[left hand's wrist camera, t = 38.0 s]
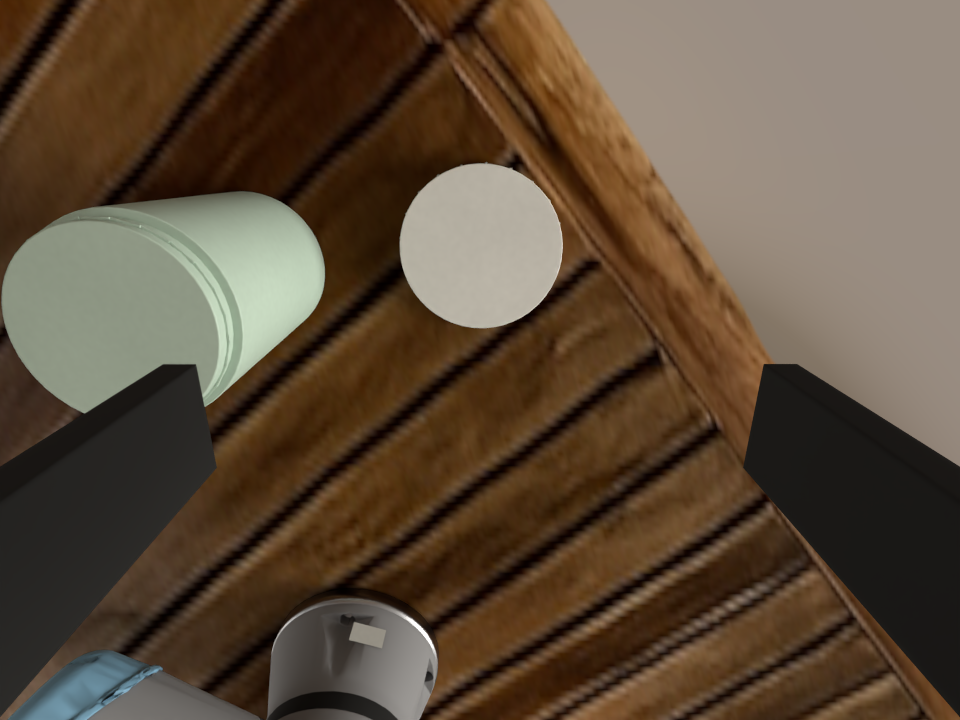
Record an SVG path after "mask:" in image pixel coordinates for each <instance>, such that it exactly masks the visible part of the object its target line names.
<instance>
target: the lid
mask: <svg viewBox="0 0 960 720" xmlns="http://www.w3.org/2000/svg"><path fill="white" fill-rule="evenodd" d="M533 182H534V181H532V180H529V179H528V178H526V177H525V176H523V175H522V174H520V173H518V172H516V171H514V170H512V168H510V169H509V168H506V167H503V166H499V165H493V164H487V162H486V163H485V164H481V163H478V164H468V165H464V166H463V165H462V164H461V165H460V166H459V167H456V168H453V169H451V170H448V171H446V172H444V173H442V174H441V175H440V174H438V175H437V177H436V178H434V179H433V180H432V181H430V182H429V183H428V184H427V185H426V186H425V187H424V188H423V189H422V190H421V191H419V192H418V195H417V196H416V197H415V199H414V200H413V201H412V203H411V205H410V207H409V209H408V211H407V212H406V213H405V214H406V216H405V218H404V221H403V225H402V229H401V235H400V257H401V263H402V267H403V270H404V274H405V276H406V278H407V281H408V283H409V285H410V287H411V288H412V290H413V292H414V293H415V294H416V296H417V297H418V298H419V300H420V301H421V302H422V303H423V304H424V305H425V306H426V307H427V308H428V309H430V310H431V311H432V312H434V313H435V314H436V315H438V316H440V317H441V318H443V319H445V320H447V321H449V322H452V323H454V324H458V325H461V326H466V327H472V328H490V327H496V326H501V325H505V324H507V323H510V322H513V321H515V320H517V319H519V318H521V317H523V316H524V315H526V314H527V313H529V312H530V311H531V310H532V309H534V308H535V307H536V306H537V305H538V304H539V303H540V302H541V301H542V300H543V298H544V297H545V296H546V295H547V293H548V292H549V290H550V289H551V287H552V285H553V283H554V281H555V279H556V276H557V274H558V271H559V268H560V263H561V259H562V249H563V247H562V234H561V228H560V223H559V221H558V218H557V215H556V213H555V210H554V208H553V206H552V204H551V203H550V200H549V199H548V198H547V197H546V195H545V194H544V193H543V192H542V191H541V190H540V188H539V187H538V186H536V185H535V184H534V183H533Z"/></svg>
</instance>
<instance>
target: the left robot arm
mask: <svg viewBox="0 0 960 720" xmlns="http://www.w3.org/2000/svg"><path fill="white" fill-rule="evenodd" d="M216 468H217V467H216V462H215V456H214V451H213V446H212V441H211V436H210V431H209V426H208V421H207V416H206V411H205V406H204V401H203V396H202V391H201V386H200V381H199V376H198V371H197V366H196V364H162V365H161V366H159V367H158V368H156V369H155V370H153V371H151V372H150V373H148V374H147V375H145V376H143V377H142V378H140V379H139V380H137V381H135V382H134V383H132V384H131V385H129V386H128V387H126V388H124V389H123V390H121V391H120V392H118V393H116V394H115V395H113V396H112V397H110V398H108V399H107V400H105V401H104V402H102V403H101V404H99V405H97V406H96V407H94V408H93V409H91V410H89V411H88V412H86V413H85V414H83V415H82V416H80V417H78V418H77V419H75V420H74V421H72V422H70V423H69V424H67V425H66V426H64V427H62V428H61V429H59V430H58V431H56V432H55V433H53V434H51V435H50V436H48V437H47V438H45V439H43V440H42V441H40V442H39V443H37V444H35V445H34V446H32V447H31V448H29V449H28V450H26V451H24V452H23V453H21V454H20V455H18V456H16V457H15V458H13V459H12V460H10V461H8V462H7V463H5V464H4V465H2V466H1V467H0V717H1V715H2V714H3V713H4V712H5V711H6V710H7V708H8V707H9V706H10V705H11V704H12V703H13V702H14V700H15V699H16V698H17V697H18V696H19V695H20V694H21V692H22V691H23V690H24V689H25V688H26V687H27V685H28V684H29V683H30V682H31V681H32V680H33V679H34V677H35V676H36V675H37V674H38V673H39V672H40V670H41V669H42V668H43V667H44V666H45V665H46V664H47V662H48V661H49V660H50V659H51V658H52V657H53V656H54V654H55V653H56V652H57V651H58V650H59V649H60V647H61V646H62V645H63V644H64V643H65V642H66V641H67V639H68V638H69V637H70V636H71V635H72V634H73V632H74V631H75V630H76V629H77V628H78V627H79V626H80V624H81V623H82V622H83V621H84V620H85V619H86V618H87V616H88V615H89V614H90V613H91V612H92V611H93V609H94V608H95V607H96V606H97V605H98V604H99V603H100V601H101V600H102V599H103V598H104V597H105V596H106V595H107V593H108V592H109V591H110V590H111V589H112V588H113V586H114V585H115V584H116V583H117V582H118V581H119V580H120V578H121V577H122V576H123V575H124V574H125V573H126V571H127V570H128V569H129V568H130V567H131V566H132V565H133V563H134V562H135V561H136V560H137V559H138V558H139V557H140V555H141V554H142V553H143V552H144V551H145V550H146V548H147V547H148V546H149V545H150V544H151V543H152V542H153V540H154V539H155V538H156V537H157V536H158V535H159V533H160V532H161V531H162V530H163V529H164V528H165V527H166V525H167V524H168V523H169V522H170V521H171V520H172V519H173V517H174V516H175V515H176V514H177V513H178V512H179V510H180V509H181V508H182V507H183V506H184V505H185V504H186V502H187V501H188V500H189V499H190V498H191V497H192V495H193V494H194V493H195V492H196V491H197V490H198V489H199V487H200V486H201V485H202V484H203V483H204V482H205V481H206V479H207V478H208V477H209V476H210V475H211V474H212V472H213V471H214V470H215V469H216ZM743 468H744V469H745V470H746V471H747V472H748V474H749V475H750V476H751V477H752V478H753V479H754V481H755V482H756V483H757V484H758V485H759V486H760V487H761V489H762V490H763V491H764V492H765V493H766V494H767V495H768V497H769V498H770V499H771V500H772V501H773V502H774V504H775V505H776V506H777V507H778V508H779V509H780V510H781V512H782V513H783V514H784V515H785V516H786V517H787V519H788V520H789V521H790V522H791V523H792V524H793V525H794V527H795V528H796V529H797V530H798V531H799V532H800V533H801V535H802V536H803V537H804V538H805V539H806V540H807V542H808V543H809V544H810V545H811V546H812V547H813V548H814V550H815V551H816V552H817V553H818V554H819V555H820V557H821V558H822V559H823V560H824V561H825V562H826V563H827V565H828V566H829V567H830V568H831V569H832V570H833V571H834V573H835V574H836V575H837V576H838V577H839V578H840V580H841V581H842V582H843V583H844V584H845V585H846V586H847V588H848V589H849V590H850V591H851V592H852V593H853V595H854V596H855V597H856V598H857V599H858V600H859V601H860V603H861V604H862V605H863V606H864V607H865V608H866V609H867V611H868V612H869V613H870V614H871V615H872V616H873V618H874V619H875V620H876V621H877V622H878V623H879V624H880V626H881V627H882V628H883V629H884V630H885V631H886V633H887V634H888V635H889V636H890V637H891V638H892V639H893V641H894V642H895V643H896V644H897V645H898V646H899V647H900V649H901V650H902V651H903V652H904V653H905V654H906V656H907V657H908V658H909V659H910V660H911V661H912V662H913V664H914V665H915V666H916V667H917V668H918V669H919V670H920V672H921V673H922V674H923V675H924V676H925V677H926V679H927V680H928V681H929V682H930V683H931V684H932V685H933V687H934V688H935V689H936V690H937V691H938V692H939V694H940V695H941V696H942V697H943V698H944V699H945V700H946V702H947V703H948V704H949V705H950V706H951V707H952V708H953V710H954V711H955V712H956V713H957V714H958V715H959V717H960V467H959V466H958V465H956V464H955V463H953V462H951V461H950V460H948V459H947V458H945V457H944V456H942V455H940V454H939V453H937V452H936V451H934V450H932V449H931V448H929V447H928V446H926V445H925V444H923V443H921V442H920V441H918V440H917V439H915V438H913V437H912V436H910V435H909V434H907V433H905V432H904V431H902V430H901V429H899V428H898V427H896V426H894V425H893V424H891V423H890V422H888V421H886V420H885V419H883V418H882V417H880V416H878V415H877V414H875V413H874V412H872V411H871V410H869V409H867V408H866V407H864V406H863V405H861V404H859V403H858V402H856V401H855V400H853V399H851V398H850V397H848V396H847V395H845V394H843V393H842V392H840V391H839V390H837V389H836V388H834V387H832V386H831V385H829V384H828V383H826V382H825V381H823V380H821V379H820V378H818V377H817V376H815V375H813V374H812V373H810V372H809V371H807V370H805V369H804V368H802V367H801V366H799V365H797V364H764V366H763V371H762V376H761V381H760V386H759V391H758V396H757V401H756V406H755V411H754V416H753V421H752V426H751V431H750V436H749V441H748V446H747V451H746V456H745V462H744V467H743ZM438 657H439V650H438V644H437V640H436V637H435V634H434V632H433V630H432V629H431V627H430V625H429V624H428V623H427V621H426V620H425V619H424V618H423V617H422V616H421V615H420V614H419V613H418V612H417V611H416V610H415V609H413V608H412V607H410V606H409V605H408V604H406V603H404V602H402V601H401V600H398V599H396V598H394V597H392V596H389V595H386V594H383V593H380V592H376V591H371V590H364V589H340V590H333V591H328V592H325V593H321V594H318V595H316V596H313V597H311V598H309V599H307V600H305V601H304V602H302V603H301V604H299V605H298V606H297V607H295V608H294V609H293V610H292V611H291V612H290V614H289V615H288V616H287V617H286V619H285V620H284V622H283V624H282V626H281V628H280V630H279V633H278V635H277V637H276V640H275V642H274V645H273V648H272V655H271V666H270V668H271V671H270V683H269V700H268V716H267V720H419V719H420V717H421V715H422V712H423V710H424V708H425V706H426V703H427V701H428V699H429V697H430V695H431V692H432V690H433V687H434V684H435V681H436V677H437V670H438ZM162 670H163V668H162V667H160V666H158V665H153V666H150V665H148V664H145V663H143V662H140V661H137V660H135V659H132V658H130V657H127V656H125V655H122V654H119V653H117V652H115V651H111V650H97V651H92V652H89V653H86V654H84V655H82V656H80V657H78V658H76V659H74V660H73V661H72V662H70V663H69V664H67V665H66V666H65V667H63V668H62V669H61V670H60V671H59V672H57V673H56V674H55V675H54V676H53V677H52V678H51V679H49V680H48V681H47V682H46V683H45V684H44V685H43V686H42V687H41V688H39V689H38V690H37V691H36V692H35V693H34V694H33V695H32V696H31V697H30V698H29V699H28V700H27V701H26V702H25V703H24V704H23V705H22V706H21V707H20V708H19V709H18V710H17V711H16V712H15V713H14V714H13V715H12V716H11V717H10V718H9V719H8V720H263V719H261V718H259V717H258V716H256V715H254V714H251V713H249V712H247V711H245V710H243V709H241V708H239V707H237V706H235V705H232V704H230V703H228V702H226V701H224V700H222V699H220V698H218V697H215V696H213V695H211V694H209V693H207V692H205V691H203V690H201V689H199V688H196V687H194V686H192V685H190V684H188V683H186V682H184V681H182V680H179V679H177V678H175V677H174V676H172V675H170V674H168V673H166V672H164V671H162Z"/></svg>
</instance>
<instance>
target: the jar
mask: <svg viewBox="0 0 960 720" xmlns="http://www.w3.org/2000/svg"><path fill="white" fill-rule="evenodd" d="M324 281H325V266H324V260H323V256H322V252H321V249H320V246H319V244H318V242H317V239H316V238H315V236H314V234H313V232H312V231H311V229H310V228H309V227H308V225H307V224H306V223H305V222H304V220H303V219H302V218H301V217H300V216H299V215H298V214H297V213H295V212H294V211H293V210H292V209H291V208H289V207H288V206H286V205H285V204H283V203H282V202H280V201H278V200H276V199H274V198H272V197H269V196H266V195H263V194H259V193H254V192H245V191H239V192H227V193H218V194H209V195H200V196H191V197H182V198H173V199H164V200H155V201H146V202H137V203H127V204H118V205H109V206H100V207H92V208H87V209H82V210H77V211H75V212H72V213H69V214H67V215H64V216H62V217H61V218H59V219H57V220H55V221H54V222H52V223H51V224H49V225H48V226H46V227H45V228H44V229H42V230H41V231H39V232H38V233H36V234H35V235H33V236H32V237H31V238H29V239H27V240H26V242H25V243H24V244H23V245H22V246H21V247H20V248H19V250H18V251H17V252H16V253H15V255H14V256H13V258H12V260H11V262H10V263H9V265H8V268H7V271H6V273H5V276H4V281H3V286H2V299H1V303H2V312H3V318H4V322H5V326H6V330H7V332H8V335H9V338H10V340H11V343H12V345H13V346H14V348H15V350H16V352H17V354H18V356H19V357H20V359H21V360H22V362H23V363H24V365H25V366H26V368H27V369H28V370H29V371H30V372H31V373H32V375H33V376H34V377H35V378H36V379H37V380H38V381H39V382H40V383H41V384H42V385H43V386H44V387H45V388H46V389H47V390H48V391H50V392H51V393H52V394H53V395H55V396H56V397H57V398H59V399H60V400H62V401H63V402H65V403H66V404H68V405H69V406H71V407H73V408H75V409H77V410H79V411H81V412H83V413H86V412H88V411H89V410H91V409H93V408H94V407H96V406H97V405H99V404H101V403H102V402H104V401H105V400H107V399H108V398H110V397H112V396H113V395H115V394H116V393H118V392H120V391H121V390H123V389H124V388H126V387H128V386H129V385H131V384H132V383H134V382H135V381H137V380H139V379H140V378H142V377H143V376H145V375H147V374H148V373H150V372H151V371H153V370H155V369H156V368H158V367H159V366H161V365H162V364H196V366H197V371H198V376H199V381H200V386H201V391H202V396H203V401H204V406H207V405H208V404H210V403H211V402H213V401H214V400H215V399H217V398H218V397H219V396H220V395H221V394H222V393H223V392H224V391H226V390H227V389H228V388H229V387H230V386H231V385H232V384H233V383H235V382H236V381H237V380H238V379H239V378H240V377H241V376H242V375H244V374H245V373H246V372H247V371H248V370H249V369H250V368H251V367H253V366H254V365H255V364H256V363H257V362H258V361H259V360H260V359H262V358H263V357H264V356H265V355H266V354H267V353H268V352H269V351H271V350H272V349H273V348H274V347H275V346H276V345H277V344H279V343H280V342H281V341H282V340H283V339H284V338H285V337H286V336H288V335H289V334H290V333H291V332H292V331H293V330H294V329H295V328H297V327H298V326H299V325H300V324H301V323H302V322H303V321H304V320H305V319H307V318H308V317H309V316H310V314H311V313H312V312H313V311H314V309H315V308H316V306H317V304H318V302H319V300H320V298H321V295H322V292H323V288H324Z"/></svg>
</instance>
